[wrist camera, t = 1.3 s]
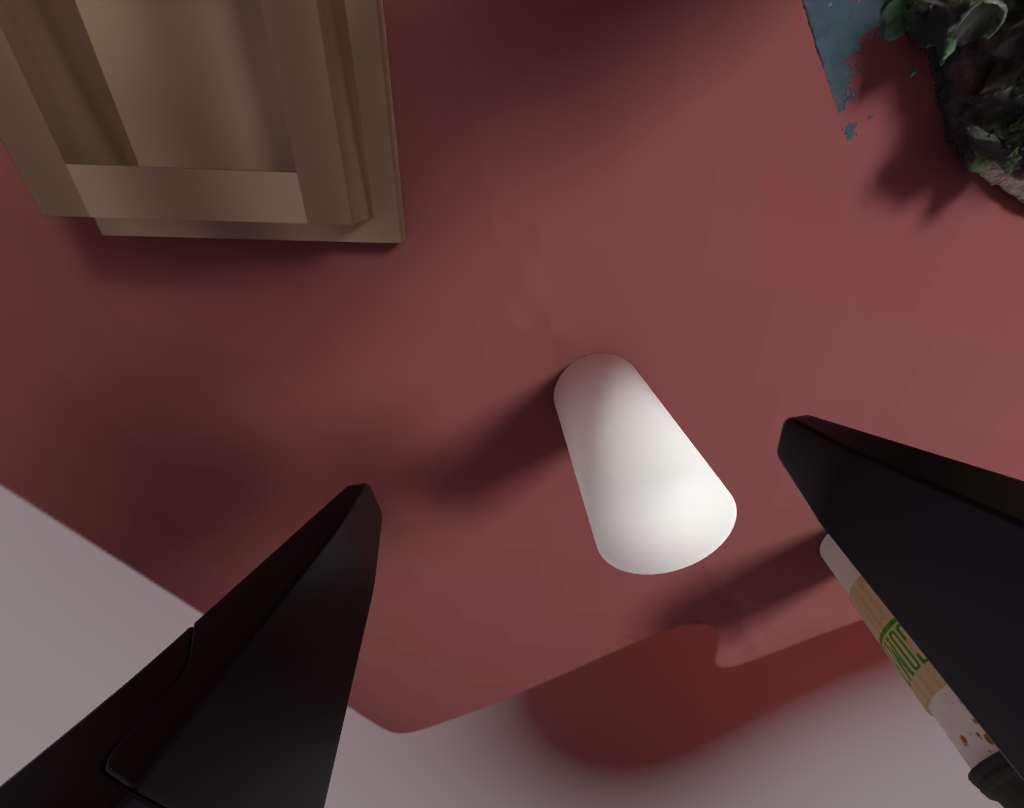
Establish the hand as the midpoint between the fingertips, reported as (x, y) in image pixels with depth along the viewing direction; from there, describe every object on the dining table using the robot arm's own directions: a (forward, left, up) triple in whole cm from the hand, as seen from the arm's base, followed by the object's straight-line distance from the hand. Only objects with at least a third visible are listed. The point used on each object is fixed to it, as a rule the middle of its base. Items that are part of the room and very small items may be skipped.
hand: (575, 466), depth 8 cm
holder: (+12, -9, -13) cm, 19 cm away
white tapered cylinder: (-4, +5, -13) cm, 15 cm away
